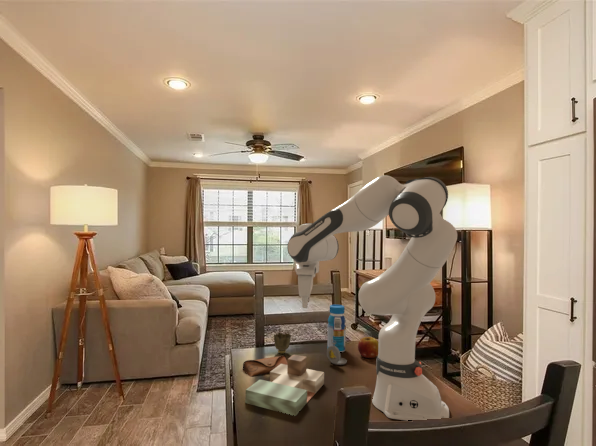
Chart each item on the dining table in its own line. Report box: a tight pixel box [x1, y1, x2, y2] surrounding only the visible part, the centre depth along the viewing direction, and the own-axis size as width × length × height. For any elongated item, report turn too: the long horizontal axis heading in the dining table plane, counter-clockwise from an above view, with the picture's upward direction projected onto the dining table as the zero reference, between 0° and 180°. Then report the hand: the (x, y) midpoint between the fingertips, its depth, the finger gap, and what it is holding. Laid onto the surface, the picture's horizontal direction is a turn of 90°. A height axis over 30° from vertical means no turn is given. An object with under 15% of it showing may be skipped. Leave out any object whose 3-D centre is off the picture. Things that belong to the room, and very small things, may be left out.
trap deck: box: [244, 364, 325, 417], centre depth 114 cm, size 17×24×4 cm
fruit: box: [357, 336, 379, 359], centre depth 149 cm, size 10×9×8 cm
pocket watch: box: [326, 340, 348, 366], centre depth 141 cm, size 8×8×10 cm
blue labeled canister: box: [326, 304, 347, 353], centre depth 157 cm, size 8×8×20 cm
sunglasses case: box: [242, 354, 288, 378], centre depth 133 cm, size 18×7×7 cm
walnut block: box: [287, 354, 307, 376], centre depth 121 cm, size 5×5×5 cm
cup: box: [273, 332, 292, 355], centre depth 151 cm, size 8×7×8 cm
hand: (306, 304), depth 128 cm, fingers open, 8 cm apart
